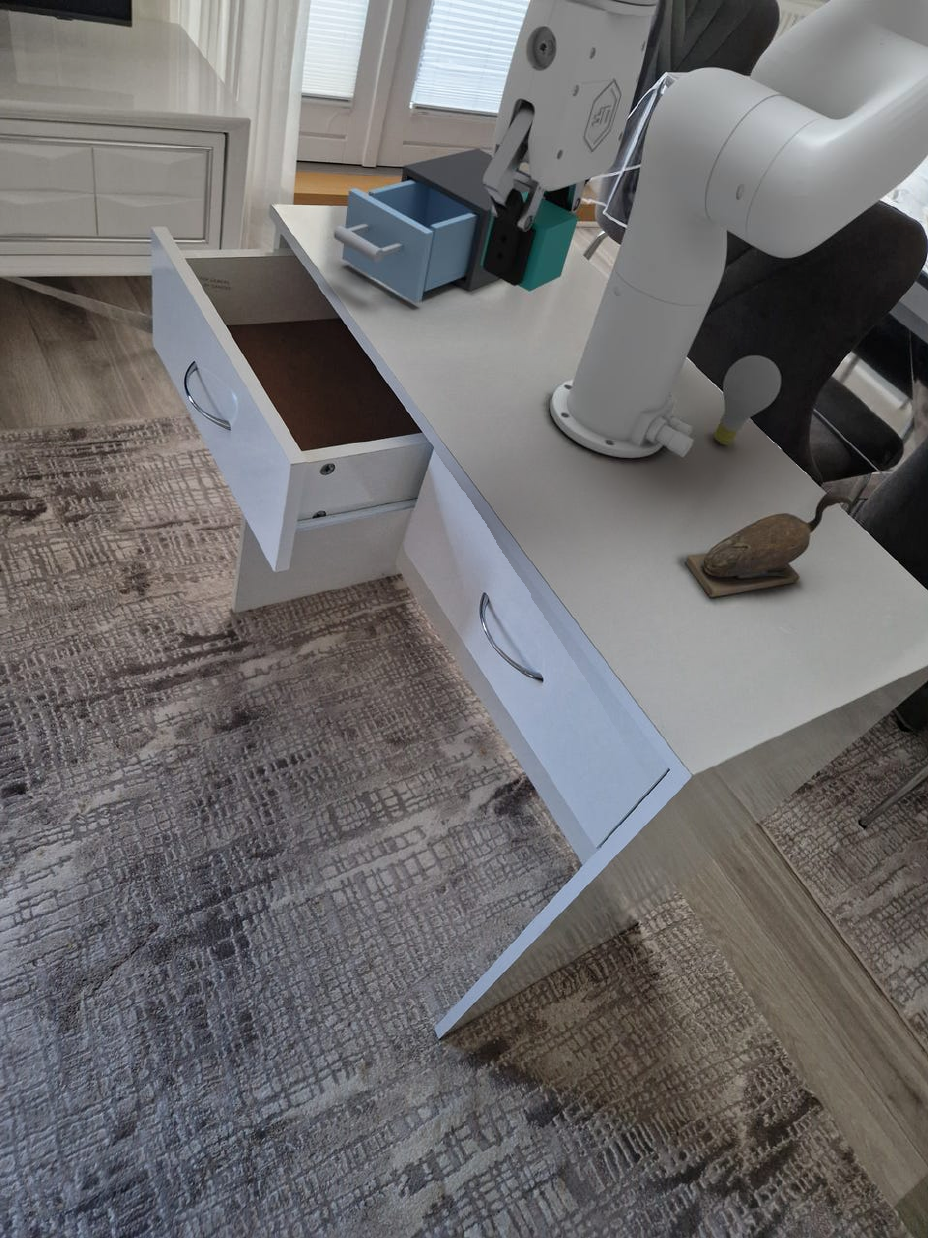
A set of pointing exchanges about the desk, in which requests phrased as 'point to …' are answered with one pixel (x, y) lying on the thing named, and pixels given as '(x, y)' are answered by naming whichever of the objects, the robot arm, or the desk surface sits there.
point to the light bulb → (746, 393)
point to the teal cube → (546, 244)
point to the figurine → (759, 553)
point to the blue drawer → (408, 236)
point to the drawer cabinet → (463, 199)
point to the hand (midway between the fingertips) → (521, 265)
